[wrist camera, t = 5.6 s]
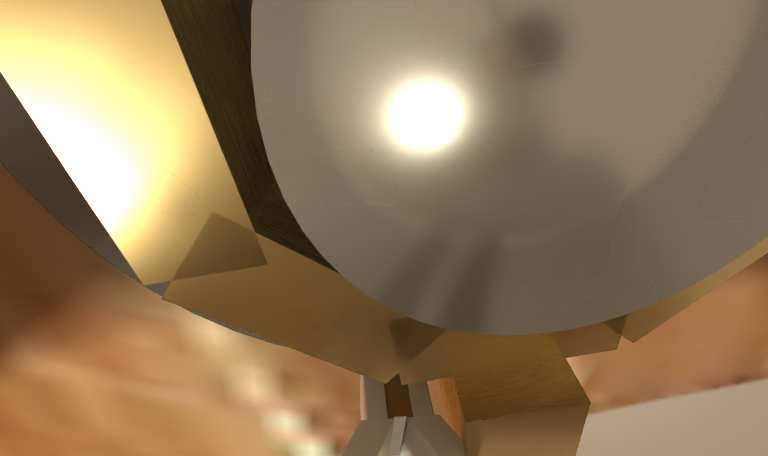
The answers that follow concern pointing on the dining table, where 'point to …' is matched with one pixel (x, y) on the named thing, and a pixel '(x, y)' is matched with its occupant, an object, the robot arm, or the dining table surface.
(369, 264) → the hub plate
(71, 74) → the ring nut
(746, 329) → the dining table surface
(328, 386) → the dining table surface
